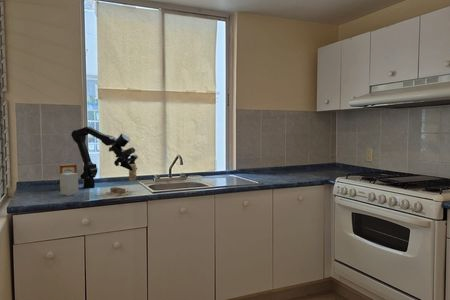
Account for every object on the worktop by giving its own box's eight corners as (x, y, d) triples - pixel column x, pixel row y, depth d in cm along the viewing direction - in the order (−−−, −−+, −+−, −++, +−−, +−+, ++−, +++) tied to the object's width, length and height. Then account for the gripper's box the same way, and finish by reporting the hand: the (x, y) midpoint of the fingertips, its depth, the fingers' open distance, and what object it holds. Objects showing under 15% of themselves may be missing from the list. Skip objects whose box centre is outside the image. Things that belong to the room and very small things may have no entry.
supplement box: (79, 193, 206) (78, 173, 205) (67, 195, 200) (67, 174, 199) (71, 192, 210) (70, 172, 209) (60, 194, 204) (59, 173, 203)
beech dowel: (130, 180, 214) (130, 165, 213) (128, 179, 217) (128, 164, 217) (137, 180, 216) (137, 164, 215) (135, 179, 220) (134, 163, 219)
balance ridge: (106, 193, 206) (106, 188, 206) (118, 191, 213) (117, 186, 213) (117, 196, 200) (117, 190, 200) (129, 194, 206) (129, 188, 206)
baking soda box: (60, 190, 218) (60, 165, 216) (60, 188, 223) (59, 164, 222) (76, 188, 222) (76, 164, 221) (75, 187, 228) (75, 163, 227)
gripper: (118, 143, 207) (133, 162, 205) (135, 142, 225) (150, 159, 222) (107, 156, 210) (122, 175, 208) (125, 154, 228) (139, 171, 225)
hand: (134, 169), depth 216 cm, fingers closed on beech dowel, 4 cm apart
